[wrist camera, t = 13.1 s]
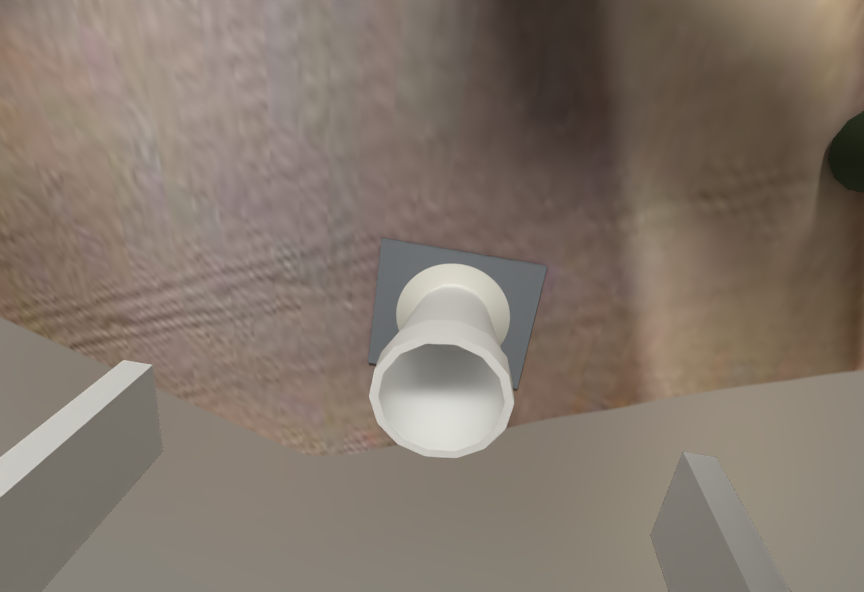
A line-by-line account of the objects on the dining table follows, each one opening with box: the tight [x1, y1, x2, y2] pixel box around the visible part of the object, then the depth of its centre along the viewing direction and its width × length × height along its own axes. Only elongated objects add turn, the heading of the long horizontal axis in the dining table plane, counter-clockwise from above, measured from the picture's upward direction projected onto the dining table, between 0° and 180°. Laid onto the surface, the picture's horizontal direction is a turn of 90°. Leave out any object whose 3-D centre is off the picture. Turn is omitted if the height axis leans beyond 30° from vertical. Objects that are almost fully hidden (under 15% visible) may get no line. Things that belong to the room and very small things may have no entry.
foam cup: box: [369, 285, 514, 458], centre depth 41 cm, size 10×9×13 cm
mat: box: [368, 238, 547, 389], centre depth 47 cm, size 12×14×1 cm
